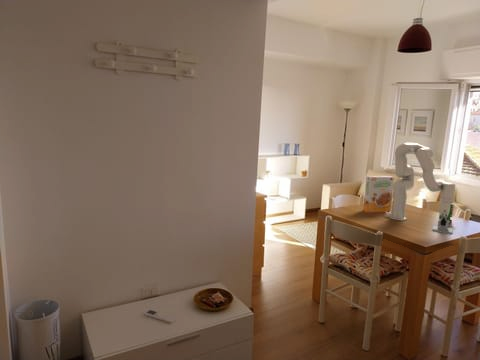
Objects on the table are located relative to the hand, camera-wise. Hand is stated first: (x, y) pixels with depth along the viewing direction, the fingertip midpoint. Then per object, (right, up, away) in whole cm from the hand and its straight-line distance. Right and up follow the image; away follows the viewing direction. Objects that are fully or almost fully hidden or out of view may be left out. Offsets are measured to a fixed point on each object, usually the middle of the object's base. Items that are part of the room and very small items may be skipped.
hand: (443, 224), depth 245 cm
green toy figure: (+14, -2, +22) cm, 26 cm away
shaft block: (0, -5, +1) cm, 5 cm away
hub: (0, -3, 0) cm, 2 cm away
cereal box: (-28, +5, +50) cm, 57 cm away
